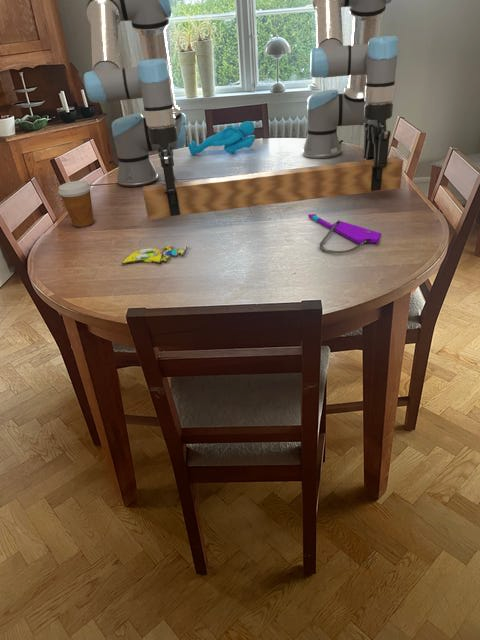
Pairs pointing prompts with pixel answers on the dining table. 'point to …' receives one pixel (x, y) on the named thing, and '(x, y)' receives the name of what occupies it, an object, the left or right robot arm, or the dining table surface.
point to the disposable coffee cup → (77, 202)
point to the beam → (271, 187)
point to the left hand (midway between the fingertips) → (175, 211)
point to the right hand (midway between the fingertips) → (372, 187)
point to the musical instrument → (348, 233)
